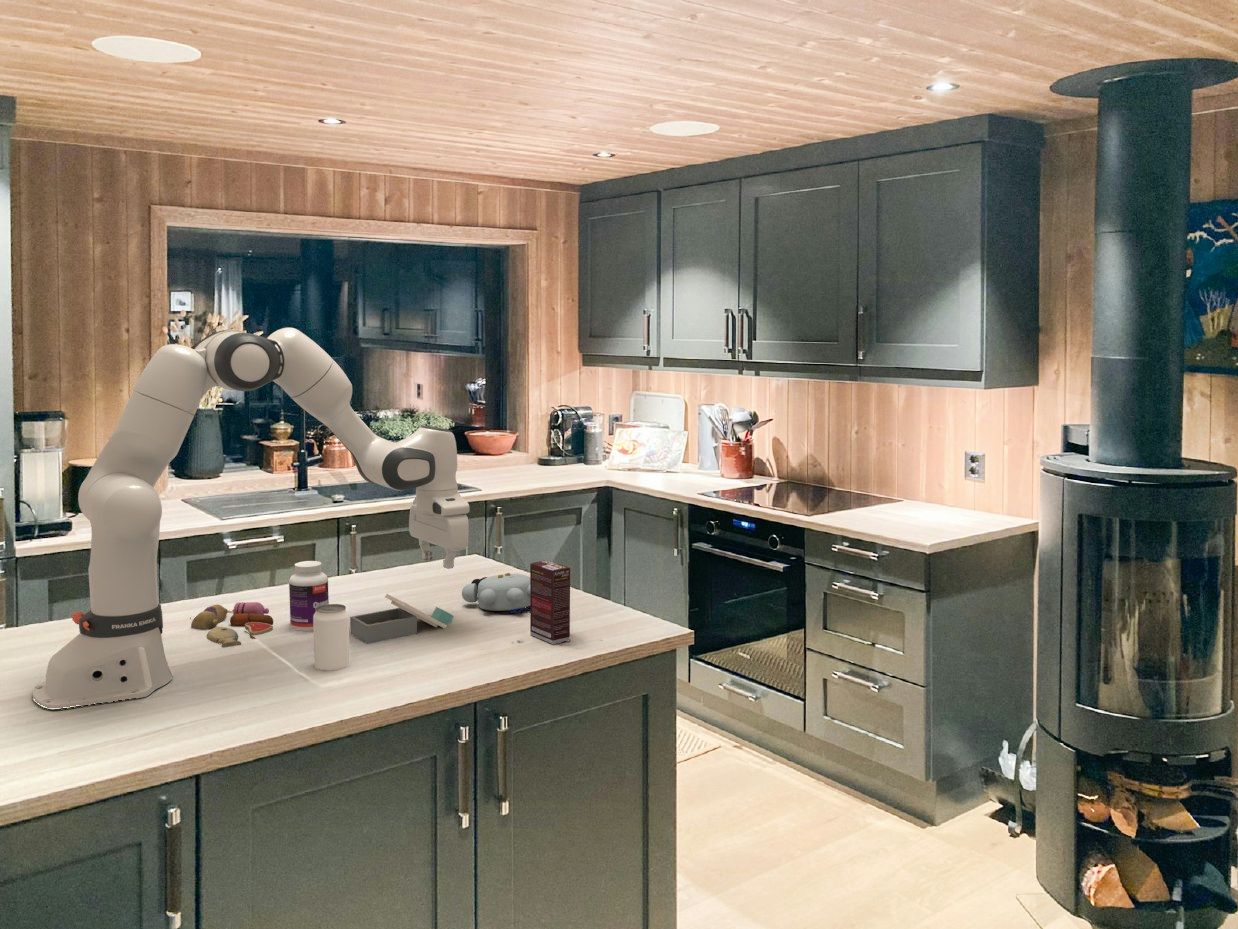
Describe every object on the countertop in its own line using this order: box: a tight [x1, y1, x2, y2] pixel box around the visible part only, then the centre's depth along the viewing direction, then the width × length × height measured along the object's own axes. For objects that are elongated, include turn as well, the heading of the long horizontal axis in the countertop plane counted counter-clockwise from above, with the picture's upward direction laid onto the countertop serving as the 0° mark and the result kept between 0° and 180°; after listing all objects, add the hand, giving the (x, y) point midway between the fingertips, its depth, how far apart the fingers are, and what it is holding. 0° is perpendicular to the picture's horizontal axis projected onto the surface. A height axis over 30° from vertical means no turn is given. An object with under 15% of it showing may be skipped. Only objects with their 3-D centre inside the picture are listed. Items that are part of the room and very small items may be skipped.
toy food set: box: [189, 601, 274, 648], centre depth 220 cm, size 26×16×4 cm, turn 42°
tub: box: [349, 607, 418, 645], centre depth 213 cm, size 11×8×4 cm
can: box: [313, 603, 350, 671], centre depth 193 cm, size 6×6×12 cm
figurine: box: [461, 572, 530, 615], centre depth 238 cm, size 17×8×20 cm
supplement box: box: [529, 559, 571, 645], centre depth 213 cm, size 9×5×16 cm, turn 39°
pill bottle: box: [288, 560, 330, 632], centre depth 218 cm, size 8×8×14 cm
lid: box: [384, 593, 454, 629], centre depth 219 cm, size 14×9×4 cm
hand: (437, 563), depth 219 cm, fingers open, 8 cm apart
